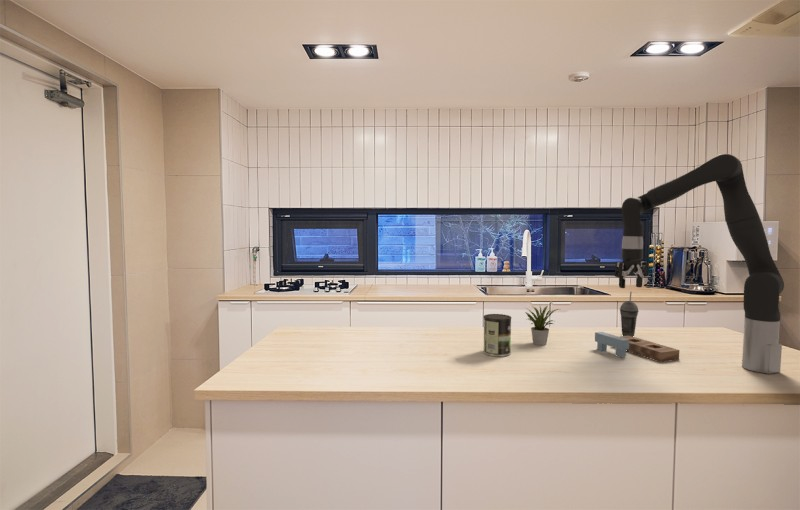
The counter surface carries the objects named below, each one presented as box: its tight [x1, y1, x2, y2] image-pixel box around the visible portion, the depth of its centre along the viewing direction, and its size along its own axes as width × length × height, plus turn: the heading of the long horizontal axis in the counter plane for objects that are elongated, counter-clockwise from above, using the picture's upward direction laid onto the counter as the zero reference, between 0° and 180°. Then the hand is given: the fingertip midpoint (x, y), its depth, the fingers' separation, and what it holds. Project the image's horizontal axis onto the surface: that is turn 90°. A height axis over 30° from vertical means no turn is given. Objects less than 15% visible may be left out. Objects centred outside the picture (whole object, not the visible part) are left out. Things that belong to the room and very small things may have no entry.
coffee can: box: [482, 313, 512, 358], centre depth 167 cm, size 10×10×14 cm
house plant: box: [524, 304, 560, 346], centre depth 181 cm, size 14×14×16 cm
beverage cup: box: [619, 291, 639, 337], centre depth 191 cm, size 7×7×20 cm
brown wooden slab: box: [620, 335, 680, 363], centre depth 168 cm, size 22×9×4 cm, turn 20°
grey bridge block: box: [594, 331, 629, 358], centre depth 168 cm, size 13×4×6 cm, turn 20°
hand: (630, 287), depth 178 cm, fingers open, 8 cm apart
